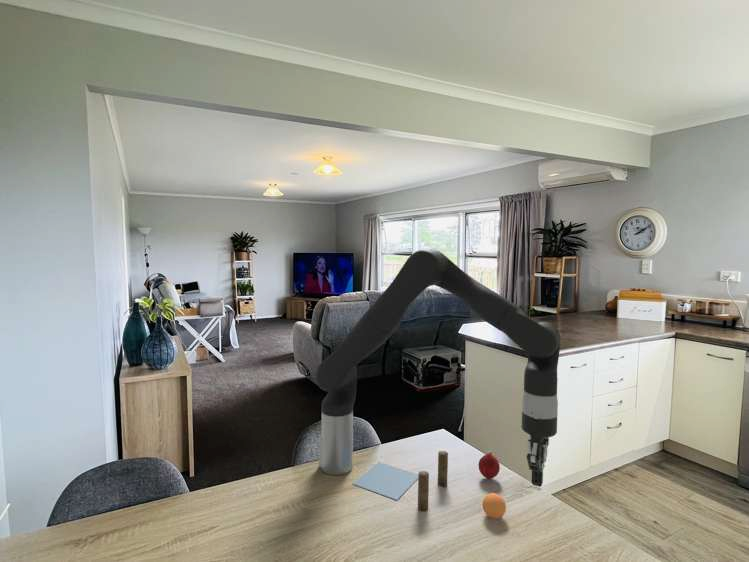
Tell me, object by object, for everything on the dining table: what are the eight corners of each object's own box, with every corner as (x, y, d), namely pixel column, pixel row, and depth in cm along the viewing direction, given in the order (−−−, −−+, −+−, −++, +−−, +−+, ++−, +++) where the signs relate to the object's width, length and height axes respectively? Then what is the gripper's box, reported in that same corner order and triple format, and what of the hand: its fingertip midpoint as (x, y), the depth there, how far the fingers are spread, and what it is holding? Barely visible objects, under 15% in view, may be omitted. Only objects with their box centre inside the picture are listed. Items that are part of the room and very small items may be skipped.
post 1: (416, 509, 105) (416, 474, 104) (420, 503, 107) (421, 469, 107) (425, 512, 104) (426, 477, 103) (429, 507, 106) (430, 472, 105)
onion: (500, 486, 116) (501, 458, 115) (478, 483, 117) (479, 455, 116) (498, 474, 121) (499, 448, 121) (477, 472, 123) (478, 446, 122)
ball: (479, 518, 102) (479, 497, 101) (486, 507, 106) (486, 486, 106) (502, 526, 99) (502, 504, 98) (508, 514, 103) (508, 493, 103)
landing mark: (352, 484, 116) (352, 483, 116) (378, 462, 128) (378, 461, 128) (397, 500, 109) (397, 499, 109) (420, 475, 120) (420, 475, 120)
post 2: (436, 485, 116) (436, 453, 115) (439, 480, 118) (440, 450, 117) (445, 488, 114) (445, 456, 114) (448, 483, 117) (449, 452, 116)
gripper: (528, 399, 103) (526, 467, 104) (515, 417, 92) (513, 493, 93) (561, 405, 99) (559, 475, 100) (552, 424, 88) (549, 504, 89)
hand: (537, 484), depth 97 cm, fingers closed
